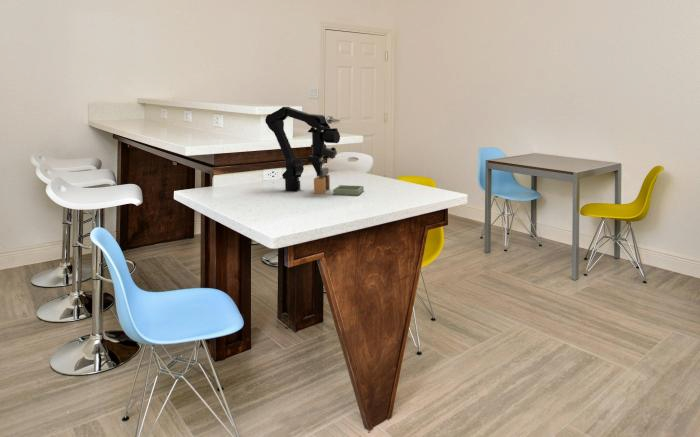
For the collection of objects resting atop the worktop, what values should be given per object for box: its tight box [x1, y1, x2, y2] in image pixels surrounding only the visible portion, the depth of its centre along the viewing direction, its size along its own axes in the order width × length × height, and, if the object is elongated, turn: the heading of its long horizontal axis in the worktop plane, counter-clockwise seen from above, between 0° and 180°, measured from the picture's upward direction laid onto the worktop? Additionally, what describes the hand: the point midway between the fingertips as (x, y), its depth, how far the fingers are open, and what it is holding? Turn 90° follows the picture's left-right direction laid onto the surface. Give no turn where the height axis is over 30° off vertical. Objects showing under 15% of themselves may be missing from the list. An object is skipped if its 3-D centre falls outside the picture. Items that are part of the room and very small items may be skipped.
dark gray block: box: [316, 167, 329, 177], centre depth 259 cm, size 3×10×3 cm, turn 167°
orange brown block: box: [313, 176, 327, 194], centre depth 255 cm, size 4×5×7 cm
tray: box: [332, 184, 364, 197], centre depth 253 cm, size 12×12×3 cm
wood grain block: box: [323, 174, 331, 191], centre depth 262 cm, size 5×2×7 cm, turn 77°
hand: (318, 175), depth 253 cm, fingers closed
